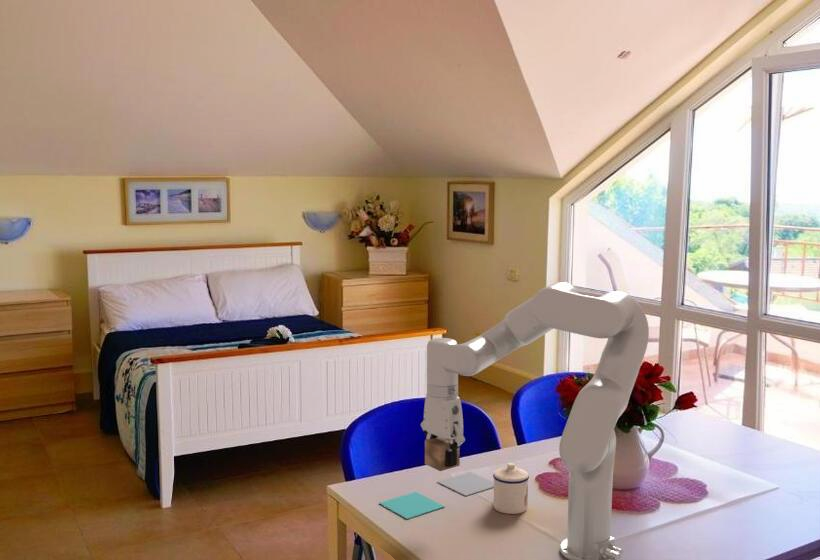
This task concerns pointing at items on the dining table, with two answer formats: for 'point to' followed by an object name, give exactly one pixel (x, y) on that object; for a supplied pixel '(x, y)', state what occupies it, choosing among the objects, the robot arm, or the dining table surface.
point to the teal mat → (411, 505)
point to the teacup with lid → (510, 489)
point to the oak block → (438, 453)
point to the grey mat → (467, 483)
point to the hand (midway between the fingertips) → (442, 461)
